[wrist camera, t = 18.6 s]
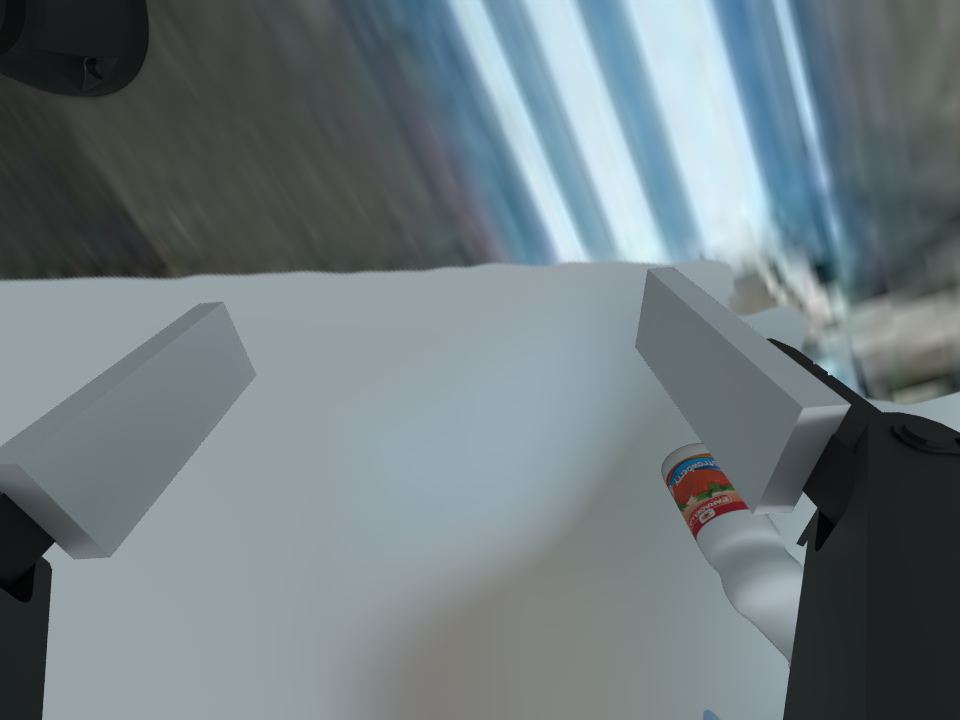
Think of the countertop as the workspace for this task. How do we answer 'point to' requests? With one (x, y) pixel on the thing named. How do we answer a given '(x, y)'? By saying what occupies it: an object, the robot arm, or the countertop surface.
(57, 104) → the countertop surface
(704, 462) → the fruit juice
